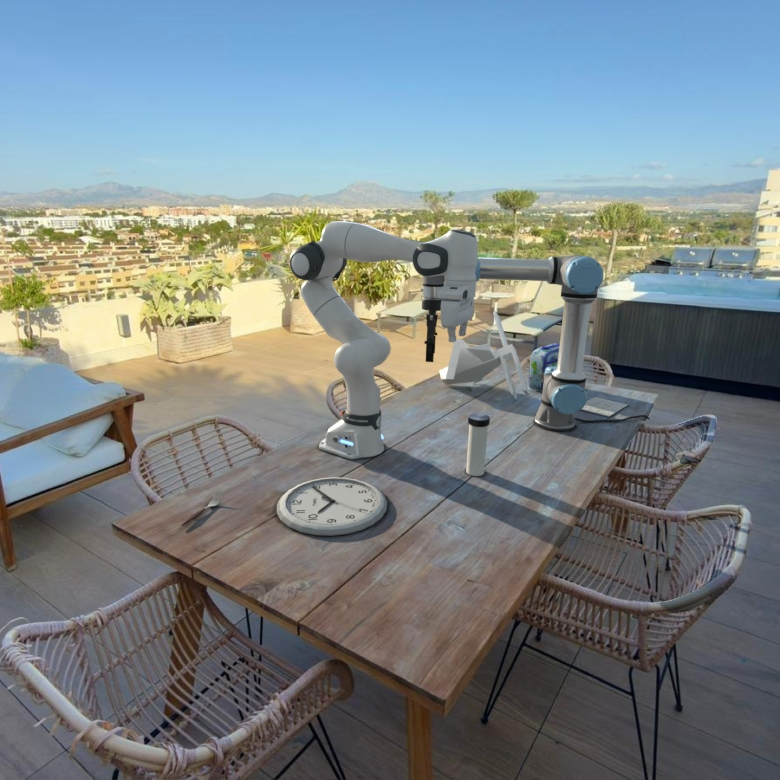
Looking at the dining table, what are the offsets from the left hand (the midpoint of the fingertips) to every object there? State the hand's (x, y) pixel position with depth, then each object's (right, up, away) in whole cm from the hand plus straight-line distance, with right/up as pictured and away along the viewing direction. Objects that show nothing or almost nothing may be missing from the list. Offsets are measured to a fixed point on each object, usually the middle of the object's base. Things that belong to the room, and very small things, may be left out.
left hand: (457, 338), depth 151 cm
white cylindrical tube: (+7, -41, +13) cm, 43 cm away
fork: (-69, -47, -13) cm, 85 cm away
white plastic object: (+22, -16, +93) cm, 97 cm away
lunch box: (+57, -14, +101) cm, 117 cm away
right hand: (-5, -3, +39) cm, 39 cm away
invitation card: (+72, -22, +76) cm, 107 cm away
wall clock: (-35, -46, -8) cm, 59 cm away
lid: (+8, -23, +8) cm, 26 cm away
